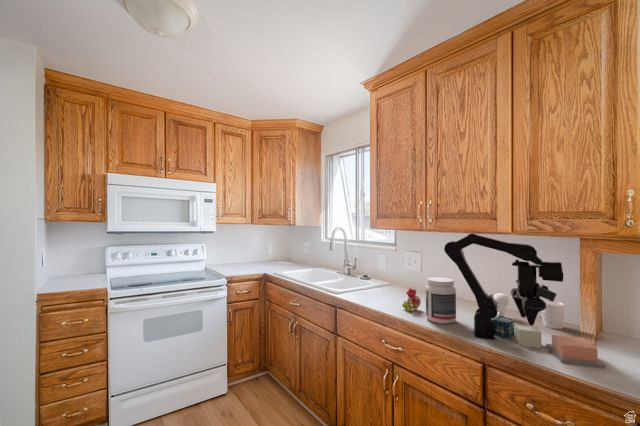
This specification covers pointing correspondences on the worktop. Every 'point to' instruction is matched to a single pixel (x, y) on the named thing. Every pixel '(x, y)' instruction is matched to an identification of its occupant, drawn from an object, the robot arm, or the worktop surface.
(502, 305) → the light bulb
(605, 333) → the worktop surface
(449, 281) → the supplement tub
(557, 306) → the white cup
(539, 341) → the sage brick
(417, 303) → the bird rattle
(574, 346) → the brick base
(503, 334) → the puzzle
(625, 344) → the worktop surface
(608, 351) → the worktop surface
